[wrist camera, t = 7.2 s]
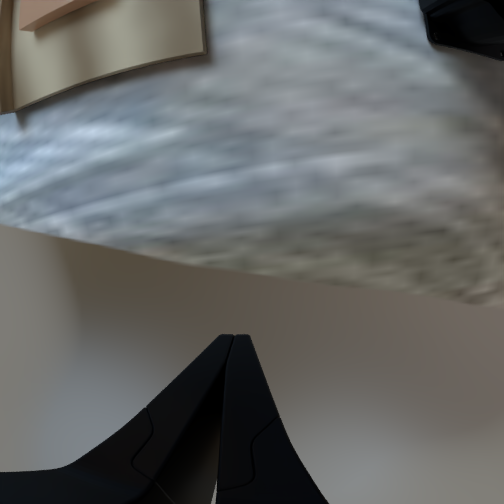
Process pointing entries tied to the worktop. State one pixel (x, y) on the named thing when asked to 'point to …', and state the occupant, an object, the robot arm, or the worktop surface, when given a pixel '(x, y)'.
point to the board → (93, 45)
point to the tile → (45, 11)
